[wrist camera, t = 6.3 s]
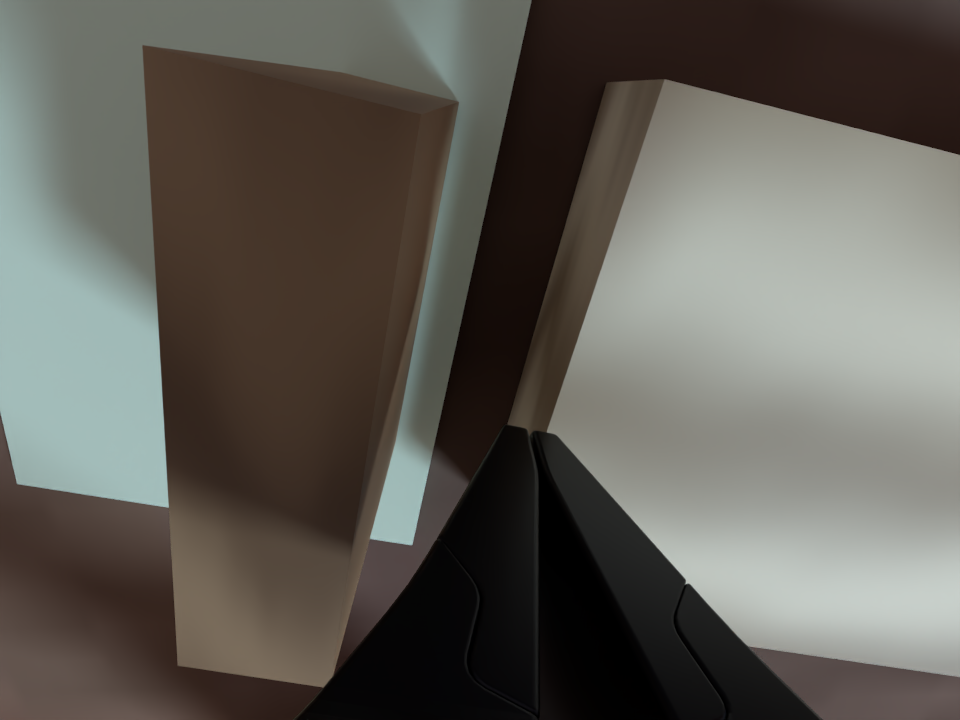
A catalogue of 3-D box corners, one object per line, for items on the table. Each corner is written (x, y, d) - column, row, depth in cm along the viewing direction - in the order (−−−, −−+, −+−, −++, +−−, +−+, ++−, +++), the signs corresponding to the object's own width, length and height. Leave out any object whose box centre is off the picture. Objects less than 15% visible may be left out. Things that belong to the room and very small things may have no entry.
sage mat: (414, 533, 17) (411, 545, 17) (29, 473, 16) (17, 484, 16) (542, -55, 10) (544, -62, 10) (-126, -241, 9) (-157, -258, 9)
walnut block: (329, 688, 9) (177, 665, 9) (395, 442, 15) (308, 425, 15) (421, 114, 5) (142, 45, 5) (459, 101, 11) (340, 71, 11)
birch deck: (933, 572, 18) (1042, 688, 15) (485, 498, 17) (487, 608, 13) (1223, 238, 13) (1502, 294, 9) (606, 82, 11) (664, 78, 8)
